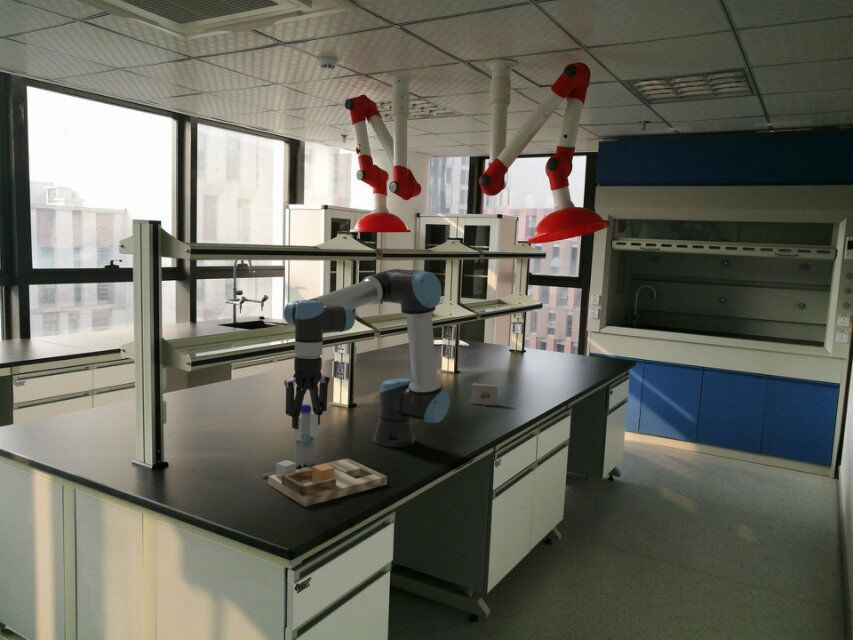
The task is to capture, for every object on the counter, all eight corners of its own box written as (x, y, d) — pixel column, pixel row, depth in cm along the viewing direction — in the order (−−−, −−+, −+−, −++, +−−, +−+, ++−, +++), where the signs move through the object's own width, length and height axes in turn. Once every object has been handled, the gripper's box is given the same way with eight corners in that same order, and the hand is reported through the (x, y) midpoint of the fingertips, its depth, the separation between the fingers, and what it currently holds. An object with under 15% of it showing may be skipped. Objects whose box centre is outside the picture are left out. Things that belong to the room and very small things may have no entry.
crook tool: (291, 472, 202) (291, 468, 201) (297, 476, 198) (297, 472, 198) (261, 478, 195) (261, 474, 195) (267, 482, 192) (267, 478, 192)
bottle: (315, 462, 211) (317, 402, 209) (312, 469, 204) (314, 407, 202) (294, 461, 211) (296, 401, 208) (291, 468, 204) (293, 406, 202)
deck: (347, 465, 209) (348, 457, 209) (386, 484, 195) (387, 475, 194) (268, 484, 190) (268, 475, 190) (304, 506, 176) (305, 497, 175)
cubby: (314, 476, 192) (314, 467, 191) (335, 487, 184) (336, 478, 183) (281, 483, 184) (281, 475, 184) (302, 495, 176) (302, 487, 176)
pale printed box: (470, 404, 301) (472, 384, 300) (471, 402, 305) (472, 382, 303) (496, 406, 299) (498, 386, 298) (497, 405, 303) (498, 384, 302)
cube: (324, 478, 190) (325, 463, 190) (333, 482, 187) (334, 467, 187) (311, 481, 187) (312, 466, 187) (320, 486, 184) (321, 470, 184)
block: (285, 472, 193) (286, 459, 193) (295, 476, 191) (296, 462, 190) (276, 476, 190) (276, 463, 189) (285, 479, 188) (286, 466, 187)
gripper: (327, 351, 187) (324, 430, 190) (272, 356, 176) (270, 439, 178) (342, 355, 182) (339, 436, 185) (287, 360, 170) (284, 447, 173)
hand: (305, 437), depth 181 cm, fingers open, 4 cm apart
